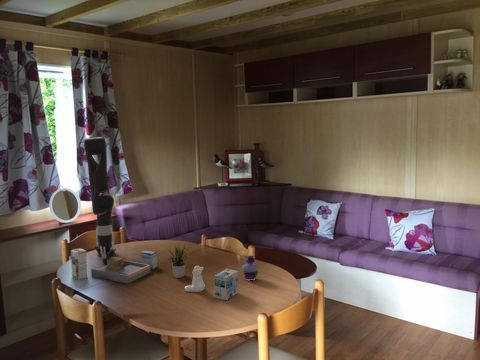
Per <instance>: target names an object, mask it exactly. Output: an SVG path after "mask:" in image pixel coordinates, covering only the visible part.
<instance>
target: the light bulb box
mask: <svg viewBox="0 0 480 360" xmlns="http://www.w3.org/2000/svg"><path fill="white" fill-rule="evenodd" d="M239 273H240V272H239V270H234V269H231V268H225V269H224V270H222V271H220V272H218V273H216V274H215V275H214V299H218V300H222V301H225V300H227V301H228V299H229V298H230V299H231V297H232V296H234V295H235V294H236V293H238V292H240V291H239V285H240V284H239V282H240V281H239V279H240V278H239V275H240V274H239ZM235 296H236V295H235ZM235 296H234V297H235ZM232 298H233V297H232ZM230 299H229V300H230Z"/></svg>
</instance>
